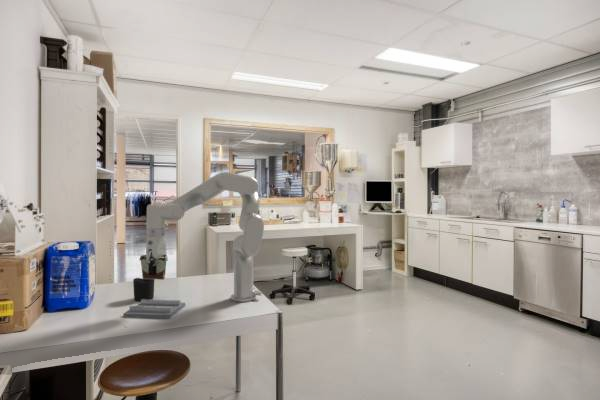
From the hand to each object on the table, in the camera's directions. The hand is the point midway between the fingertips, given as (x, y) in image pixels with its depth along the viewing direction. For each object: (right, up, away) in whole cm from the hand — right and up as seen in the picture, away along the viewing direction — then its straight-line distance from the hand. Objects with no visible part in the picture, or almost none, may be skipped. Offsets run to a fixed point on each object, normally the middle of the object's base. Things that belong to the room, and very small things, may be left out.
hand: (155, 273), depth 151 cm
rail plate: (0, -17, 0) cm, 17 cm away
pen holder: (-13, -17, +17) cm, 27 cm away
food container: (0, -2, +1) cm, 2 cm away
